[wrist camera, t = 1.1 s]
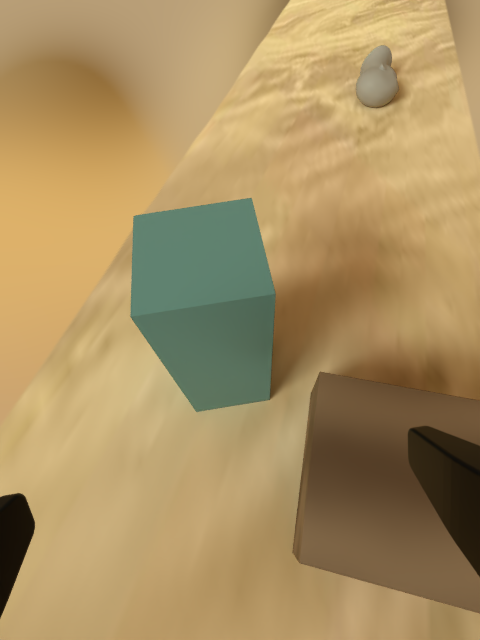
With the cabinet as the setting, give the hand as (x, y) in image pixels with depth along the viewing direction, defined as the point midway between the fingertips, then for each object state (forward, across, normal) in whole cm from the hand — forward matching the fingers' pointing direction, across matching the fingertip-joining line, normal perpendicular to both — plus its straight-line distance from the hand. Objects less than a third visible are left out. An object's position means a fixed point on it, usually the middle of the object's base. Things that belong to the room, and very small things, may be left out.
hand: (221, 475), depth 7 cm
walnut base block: (+9, -8, +10) cm, 15 cm away
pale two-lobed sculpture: (+39, -23, -20) cm, 49 cm away
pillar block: (+15, 0, +4) cm, 16 cm away
